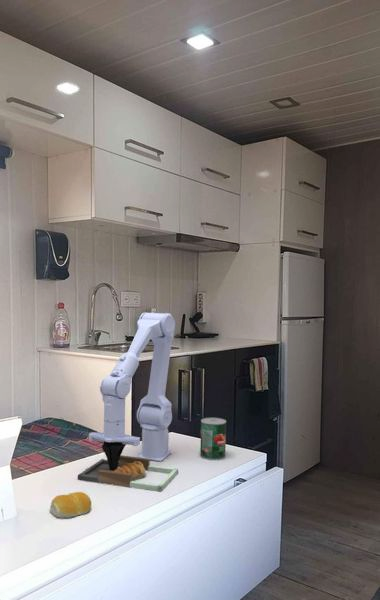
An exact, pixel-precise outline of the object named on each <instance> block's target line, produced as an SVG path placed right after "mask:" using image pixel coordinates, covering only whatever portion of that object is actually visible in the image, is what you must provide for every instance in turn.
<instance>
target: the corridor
mask: <svg viewBox="0 0 380 600" xmlns="http://www.w3.org/2000/svg"><path fill="white" fill-rule="evenodd" d="M135 461H136V462H138V461H139V462H141V463H142V464H143V467H144V469H145V472H147V471H148V466H149V465H151V460H150V459H147V458H139V457H137V456H131V455H130V456H128V455H122V454H121V456H120V459H119V467H121V466H122V465H124V464H128V463H134V462H135ZM119 467H118V468H119ZM148 472H149V471H148ZM131 481H133V480H132V474H129V473H121V472H114V471H106V470H99V471H98V483H99V484H104V483H106V485H111V484H113V485H112V486H118V487H120V486H121V487H126V488H131V487H130V482H131ZM98 483H97V484H98Z"/></svg>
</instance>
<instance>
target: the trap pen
mask: <svg viewBox="0 0 380 600" xmlns="http://www.w3.org/2000/svg"><path fill="white" fill-rule="evenodd" d="M117 468H119V462H118V467H117ZM99 470H106V471H114V470H110V468H109V464H108V460H107V459H103V458H101V459H100V460H98V461H96V462H95V463H94V464H93V465H91V466H90V467H88V468H86V469H85V470H83V471H82V472H80V473H78V474H77V480H78V481H84V482H89V483H90V482H91V483H97V484H98V471H99Z"/></svg>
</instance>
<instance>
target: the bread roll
mask: <svg viewBox="0 0 380 600" xmlns="http://www.w3.org/2000/svg"><path fill="white" fill-rule="evenodd" d="M91 508H92V500H91V498H90V496H89V495H88V494H87V493H85V492H84V491H76V492H71V493H70V492H69V493H68V494H59V495H56V496H55V497H54V498H53V499H51V504H50V508H49V512H50V513H51V514H52V515H53V516H54V517H56V518H59V519H70V518H75V517H78V516H83V515H85V514H88V513H89V512H90V510H91Z"/></svg>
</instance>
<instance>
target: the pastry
mask: <svg viewBox="0 0 380 600" xmlns="http://www.w3.org/2000/svg"><path fill="white" fill-rule="evenodd" d="M114 472H121V473H129V474H132V481H137V480H140V479H143V478H145V477H146V475H147V471H146V470H145V469H144V467H143V464H142V463H141V462H139V461H138V462H136V461H135V462H134V463H128V464H124V465H122V466H121V467H118V468H117V469H116V470H114Z"/></svg>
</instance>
